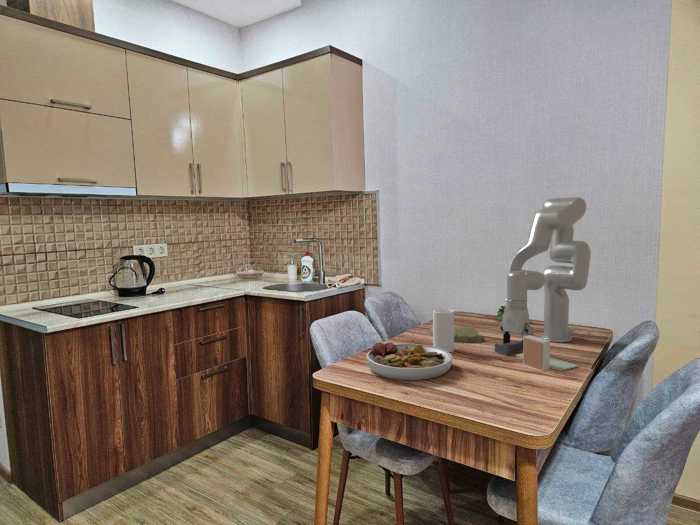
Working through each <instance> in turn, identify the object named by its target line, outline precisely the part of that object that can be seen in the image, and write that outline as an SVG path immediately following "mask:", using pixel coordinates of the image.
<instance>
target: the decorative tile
mask: <svg viewBox="0 0 700 525" xmlns="http://www.w3.org/2000/svg"><path fill="white" fill-rule="evenodd" d="M429 332H430V333H429V334H430V335H432V336H431V337H432V338H433V326H431V327H429ZM482 342H483V340H482V335H481V334H480V333H479V332H478V330H477V329H475V328H474V327H473V326H454V343H482Z"/></svg>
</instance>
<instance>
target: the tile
mask: <svg viewBox="0 0 700 525" xmlns="http://www.w3.org/2000/svg"><path fill="white" fill-rule="evenodd" d="M522 340H523V351H522V353H523V359H522V364H523V363H524V365H527V366H529V367H533V368H535V369H537V370H541V371H547V369H548V370H550V369H551V368H550V357H551V341H549V340H545V339H542V338H540V337H537V336H535V335H533V336H531V335H528V336H526V335H525V336H523V338H522Z"/></svg>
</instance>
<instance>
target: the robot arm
mask: <svg viewBox="0 0 700 525" xmlns="http://www.w3.org/2000/svg"><path fill="white" fill-rule="evenodd" d="M586 212H587V203H586V200H584V199H583V198H582V197H575V196H574V197H560V198H559V197H555V198H550V199H546V200H545V201H544V202H543V204H542V209H540V210H538V211H536V212H535V213H534V215H533V220H532V222H531V226H530V228H529V233H528V237H527V242H526V244H525V245H524V246H523V247H522V248H520V250H518V252H516V254H515V255H514V256H513V257H512V259H511V262H510V264H509V267H508V272H507V277H506V299H505V302H506V305H504V306H505V309H504V314H503V317H502V320H500V321H499V322H498V324H499V327H500V330H501V333H502V335H503V338H502V339H503V340H502V344H504V343H510V342H511V334H515V335H520V336H521V338H522V350H523V336H528V335H531V336H534V334H535V333H536V332H535V331H536V330H535V329H534V328H533V327H531V325H530V313H529V309H528V291H538V290H540V289H542V288H543V290H544V291H543V292H544V308H543V310H544V312H543V315H544V316H543V333H540V334H539V338H542V339H545V340H549V341H550V343H551V342H552V343H569V342H571V341H572V340H573V337H572V336H571V335H570V334H573V333H575V332H576V329H575V328H574V327H571V328H570V327H569V314H570V299H569V295H568V293H567V291H566V290H572V291H582V290H584V289H585V288H586V286H587V283H588V279H589V273H590V272H589V271H590V264H591V254H592V253H591V247H590V246H589V244H588V243H587V242H585V241H583V240H574V234H575V232H574V231H575V229H574V225H575V224H577V222H579V221H580V220H581V219H582V218H583V217H584V215H585V214H586ZM548 250H549V253H548V254H549V256H548V257H549V258H550V260H551V261H552V262H555V263H563V264H572V266H566V265H550V266H547V267H545V268H544V270H543V272H542V273H541V272H540V271H537V270H527V269H523V267H524V265H525V263H526V262H527V261H529V260H530V259H531V258H533V257H535V256H538V255H540V254H543V253H545V252H547V251H548Z"/></svg>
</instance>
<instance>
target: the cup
mask: <svg viewBox="0 0 700 525" xmlns="http://www.w3.org/2000/svg"><path fill="white" fill-rule="evenodd" d="M454 317H455V311H454V310H453V309H448V308H437V309H433V311H432V327H433V337H432V346H433V347H438V348H441V349H443V350H446V351H448V352H450V353H453V352H454V351H455V342H454V327H455V318H454Z"/></svg>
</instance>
